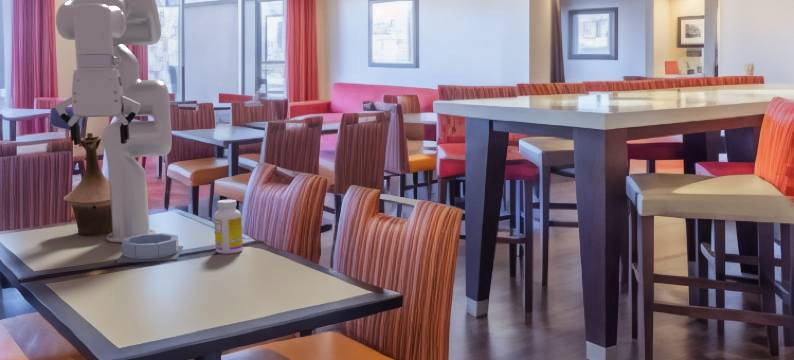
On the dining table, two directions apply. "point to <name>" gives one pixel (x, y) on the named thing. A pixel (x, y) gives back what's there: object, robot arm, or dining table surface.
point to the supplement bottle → (228, 227)
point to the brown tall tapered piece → (92, 195)
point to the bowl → (150, 246)
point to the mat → (170, 258)
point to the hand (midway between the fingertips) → (100, 143)
